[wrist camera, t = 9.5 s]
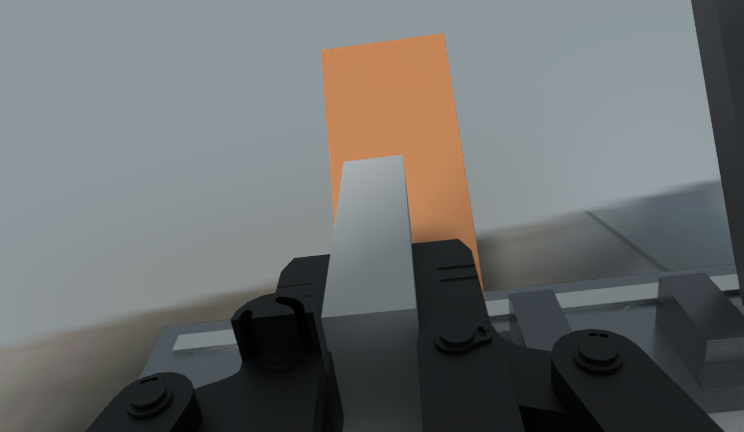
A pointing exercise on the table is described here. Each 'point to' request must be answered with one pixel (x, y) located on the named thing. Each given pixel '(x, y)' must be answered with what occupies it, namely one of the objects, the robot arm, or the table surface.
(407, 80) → the lever
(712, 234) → the table surface
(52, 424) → the table surface
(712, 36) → the lever on
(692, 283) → the grey slotted holder
